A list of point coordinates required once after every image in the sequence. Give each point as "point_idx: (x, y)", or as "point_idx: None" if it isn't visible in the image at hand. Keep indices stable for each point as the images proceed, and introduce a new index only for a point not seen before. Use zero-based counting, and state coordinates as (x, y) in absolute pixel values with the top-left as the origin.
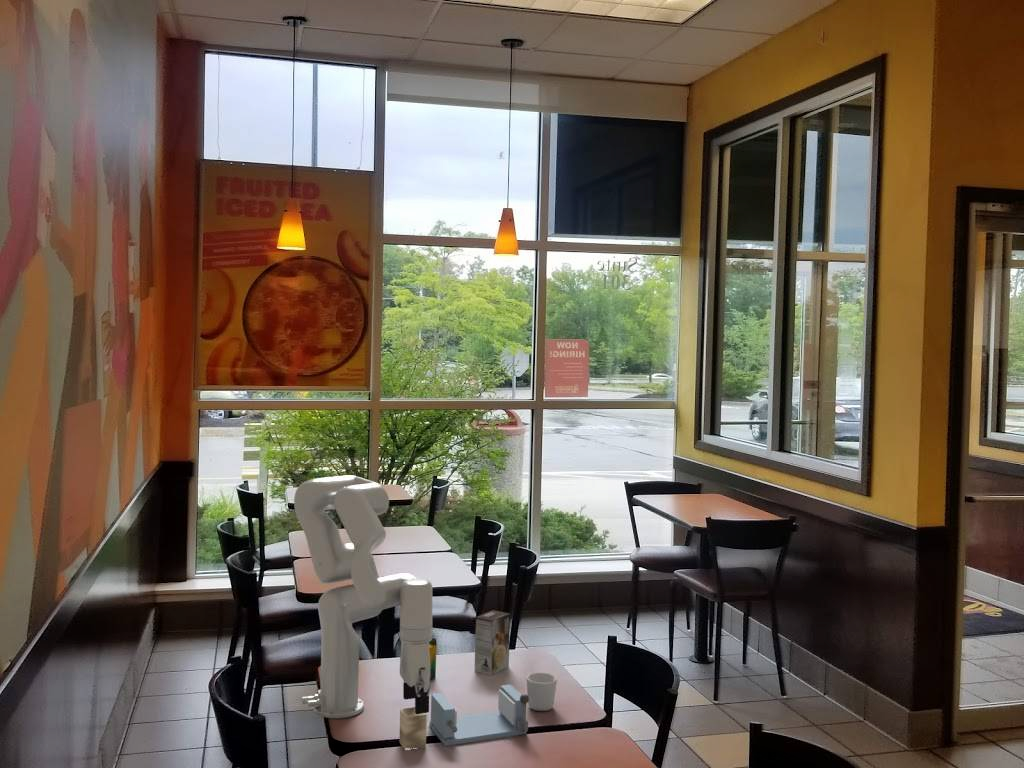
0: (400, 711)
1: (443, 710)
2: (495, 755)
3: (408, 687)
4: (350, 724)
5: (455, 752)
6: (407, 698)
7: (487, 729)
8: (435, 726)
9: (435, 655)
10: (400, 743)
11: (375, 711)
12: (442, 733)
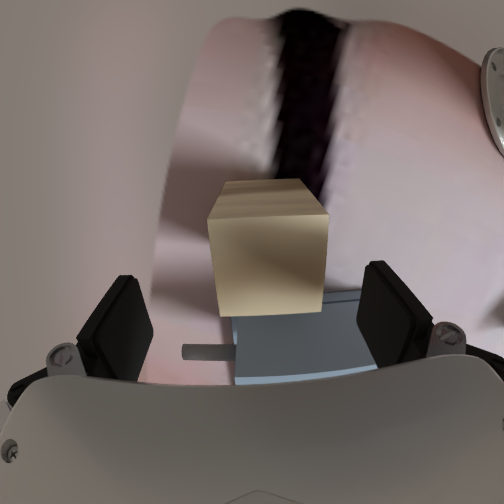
0: (320, 211)
1: (248, 371)
2: (164, 367)
3: (391, 326)
4: (452, 86)
5: (187, 310)
6: (364, 279)
7: None
8: (322, 305)
9: None
10: (285, 179)
11: (489, 180)
12: None
